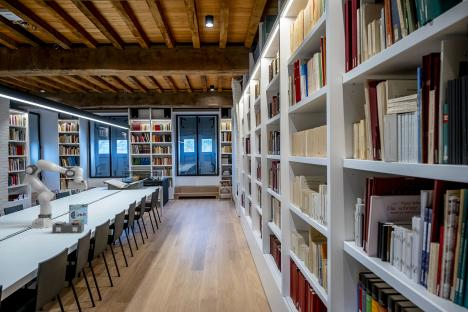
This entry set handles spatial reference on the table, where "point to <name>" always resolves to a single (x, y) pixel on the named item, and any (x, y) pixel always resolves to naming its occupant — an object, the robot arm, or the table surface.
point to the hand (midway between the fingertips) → (77, 193)
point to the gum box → (78, 213)
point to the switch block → (68, 228)
